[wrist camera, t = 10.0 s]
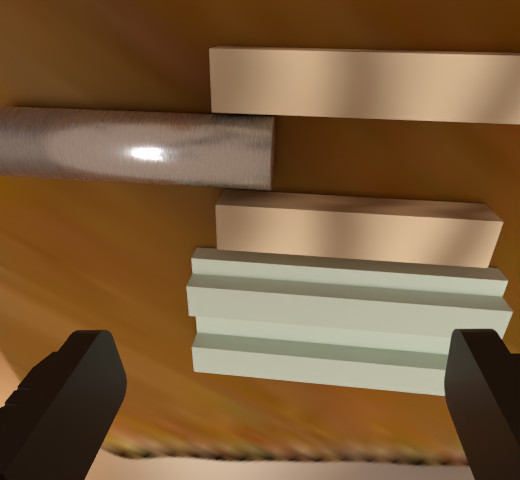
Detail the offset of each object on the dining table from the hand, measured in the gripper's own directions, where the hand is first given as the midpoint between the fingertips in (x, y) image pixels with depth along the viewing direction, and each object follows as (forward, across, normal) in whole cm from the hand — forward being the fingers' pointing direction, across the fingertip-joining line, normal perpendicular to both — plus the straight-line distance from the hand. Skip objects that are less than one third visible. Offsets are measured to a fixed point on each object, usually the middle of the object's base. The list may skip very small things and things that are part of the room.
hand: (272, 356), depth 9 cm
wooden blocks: (+16, -4, 0) cm, 17 cm away
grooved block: (+16, -2, +12) cm, 20 cm away
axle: (+15, +9, -2) cm, 17 cm away
